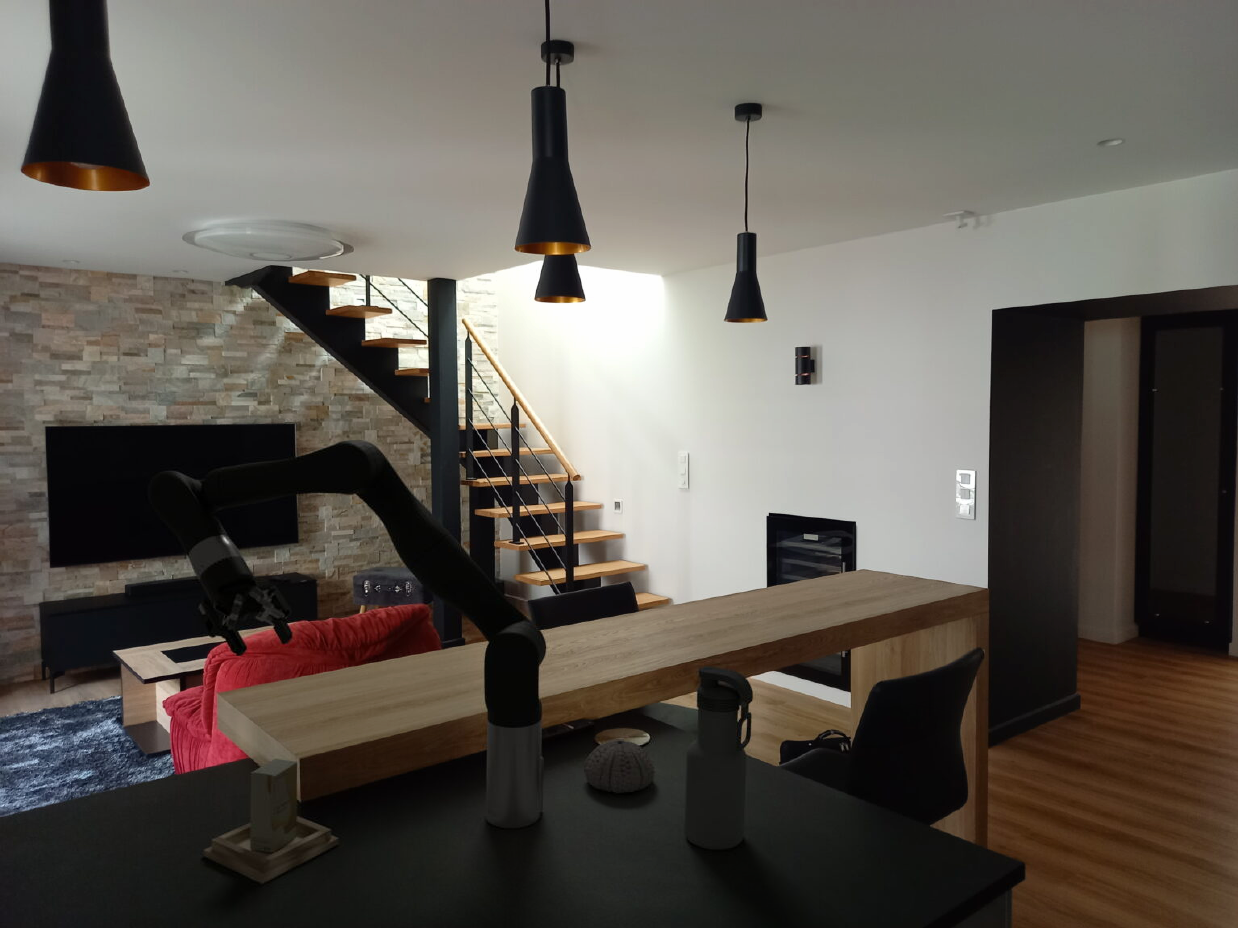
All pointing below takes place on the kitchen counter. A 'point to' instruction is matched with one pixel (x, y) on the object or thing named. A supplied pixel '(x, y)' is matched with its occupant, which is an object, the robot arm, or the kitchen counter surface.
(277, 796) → the skincare box
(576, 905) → the kitchen counter surface
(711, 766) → the water bottle
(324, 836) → the tray
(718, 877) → the kitchen counter surface
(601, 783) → the sea urchin shell
